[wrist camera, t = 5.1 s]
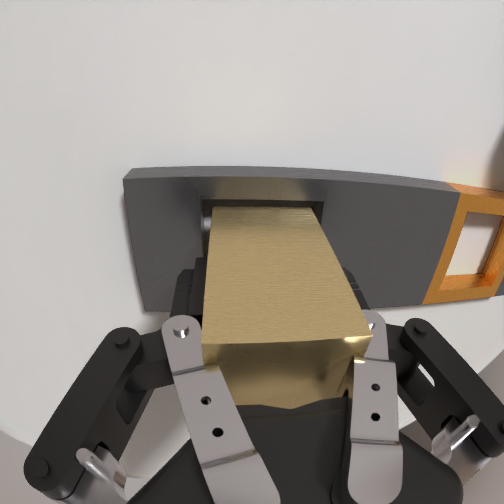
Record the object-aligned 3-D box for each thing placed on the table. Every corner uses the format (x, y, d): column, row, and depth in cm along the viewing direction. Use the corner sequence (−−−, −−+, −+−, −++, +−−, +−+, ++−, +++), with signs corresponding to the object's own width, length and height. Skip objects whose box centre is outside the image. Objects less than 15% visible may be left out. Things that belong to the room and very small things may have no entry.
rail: (132, 168, 15) (122, 179, 14) (534, 198, 17) (547, 208, 15) (150, 293, 19) (145, 311, 18) (501, 282, 21) (511, 294, 20)
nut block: (213, 206, 14) (201, 343, 8) (310, 207, 15) (372, 335, 8) (215, 285, 17) (211, 423, 10) (299, 284, 17) (335, 415, 10)
